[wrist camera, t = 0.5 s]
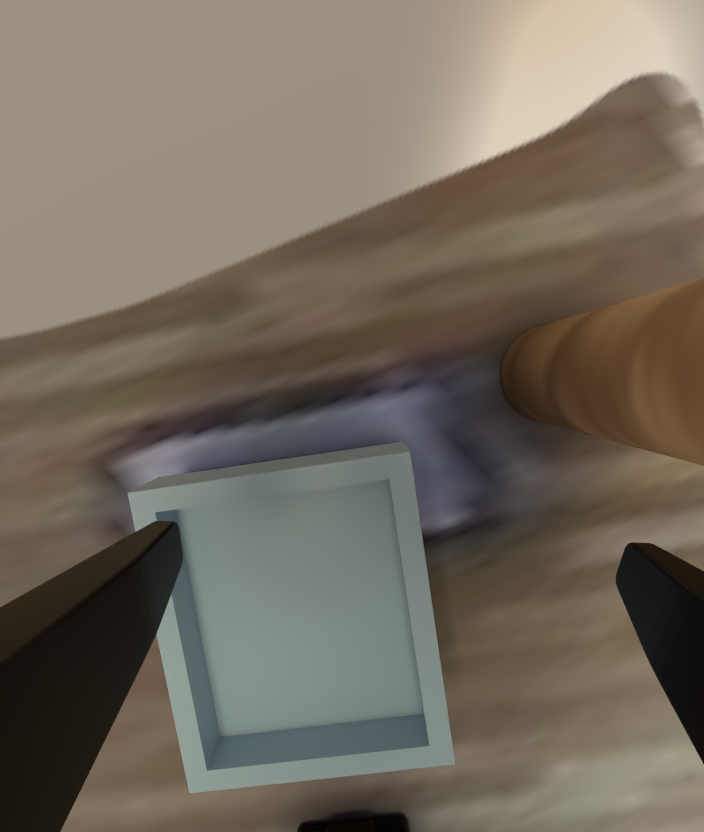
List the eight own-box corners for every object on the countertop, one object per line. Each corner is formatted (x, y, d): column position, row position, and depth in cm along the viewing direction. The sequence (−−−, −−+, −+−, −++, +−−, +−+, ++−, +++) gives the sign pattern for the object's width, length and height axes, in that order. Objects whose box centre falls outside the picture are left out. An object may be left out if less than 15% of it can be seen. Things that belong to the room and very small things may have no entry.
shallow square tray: (436, 680, 24) (455, 764, 19) (227, 705, 25) (189, 793, 19) (400, 434, 23) (409, 451, 18) (180, 466, 23) (127, 492, 18)
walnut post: (602, 414, 22) (929, 467, 9) (505, 428, 22) (693, 499, 10) (592, 317, 22) (921, 231, 9) (494, 332, 22) (673, 272, 9)
